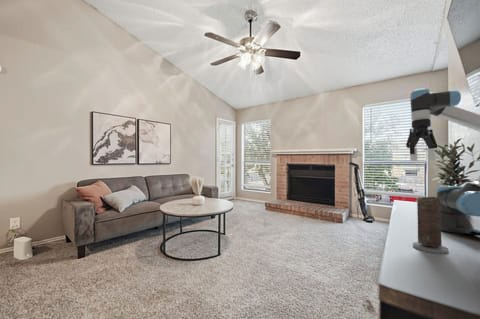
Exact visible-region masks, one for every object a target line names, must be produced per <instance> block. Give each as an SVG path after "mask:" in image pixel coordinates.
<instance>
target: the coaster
mask: <svg viewBox="0 0 480 319" xmlns="http://www.w3.org/2000/svg"><path fill="white" fill-rule="evenodd" d="M412 247H413V248H414V249H416V250H417V251H421V252H424V253H428V254H437V255H447V254H449V248H447V247H446V246H443V245H442V246H439V247H427V246H423V245H422V244H421V243H418V241H415V242H413V243H412Z"/></svg>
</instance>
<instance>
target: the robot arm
mask: <svg viewBox="0 0 480 319" xmlns="http://www.w3.org/2000/svg"><path fill="white" fill-rule="evenodd" d="M409 98H410V113H411V114H410V117H411V128H409V133H408V137H407V141H406V144H405V146H406V148H407V149H409V158H410V162H418V149H417V144H418V143H419V141H420V139H422V140H423V141H424V143H425V145H426V147H427V162H435V161H436V155H435V152H436V151H435V149H437V148H438V143H437V141H436V139H435V136H434V131H433V129H432V128H431V129H429V128H430V127H431V126H432V122H431V115H432V116H435V117H437V118H440V119H444V120H446V121H448V122H452V123H455V124H458V125H460V126H463V127H466V128H469V129H471V130H473V131H476V132H477V131H478V132H479V133H480V114H479V113H476V112H473V111H470V110H467V109H463V108H461V107H458V105H459V104H460V102H461V101H462V100H461V99H462V95H461V92H460V91H459V90H448V91H439V92H438V91H437V92H430V90H429V88H419V89H415V90H413V91H411V93H410V97H409ZM436 197H438V198H440V219H441V231H444V232H449V233H457V234H471V233H470V232H471V231H472V230H474V231H475V228H474V225H473V224H472V222H471V220H470V219H471V218H469V216H471V217H480V175H479V176H478V177H476V179H475V180H474V181H471V182H470V181H469V182H466V183H465V184H464V185H463V186H459V185H449V186H447V185H446V186H445V185H444V186H438V187H437V188H436Z"/></svg>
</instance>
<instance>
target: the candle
mask: <svg viewBox="0 0 480 319" xmlns="http://www.w3.org/2000/svg"><path fill="white" fill-rule="evenodd" d="M416 199H417V202H416V203H417V204H416V205H417V206H416V208H417V242H418V243H421V244H422V245H423V246H427V247H439V246H443V245H442V230H441V219H440V198H438V197H437V196H423V197H417V198H416Z"/></svg>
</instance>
